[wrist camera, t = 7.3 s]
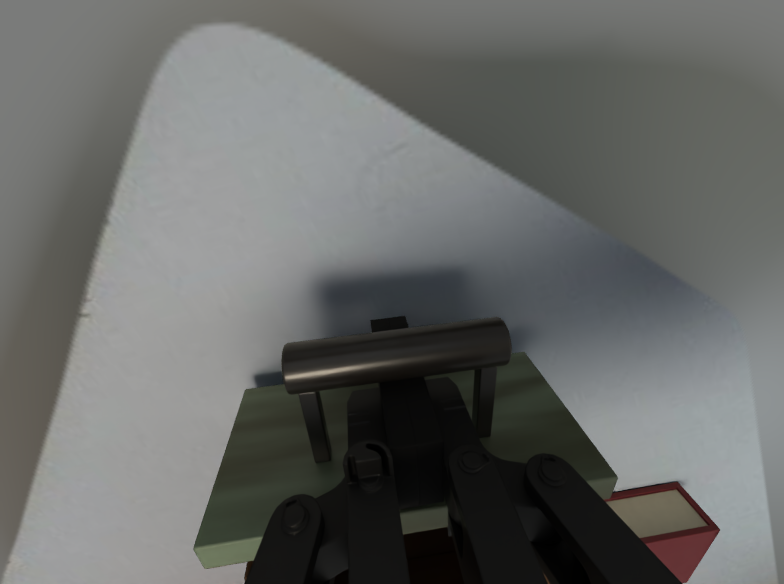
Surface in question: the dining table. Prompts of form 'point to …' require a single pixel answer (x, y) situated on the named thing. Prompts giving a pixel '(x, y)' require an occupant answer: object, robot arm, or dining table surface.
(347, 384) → the drawer
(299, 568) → the robot arm
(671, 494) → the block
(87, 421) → the dining table surface
